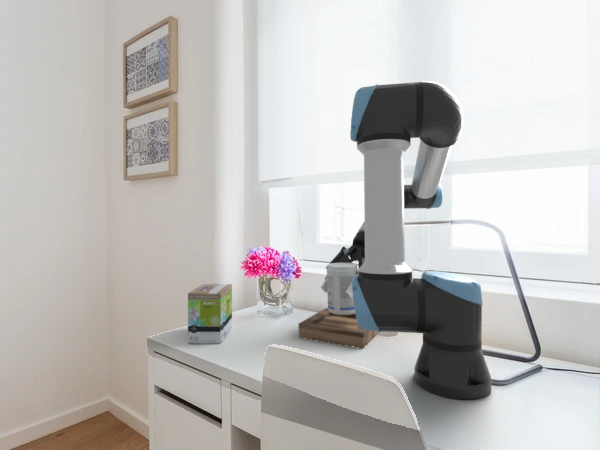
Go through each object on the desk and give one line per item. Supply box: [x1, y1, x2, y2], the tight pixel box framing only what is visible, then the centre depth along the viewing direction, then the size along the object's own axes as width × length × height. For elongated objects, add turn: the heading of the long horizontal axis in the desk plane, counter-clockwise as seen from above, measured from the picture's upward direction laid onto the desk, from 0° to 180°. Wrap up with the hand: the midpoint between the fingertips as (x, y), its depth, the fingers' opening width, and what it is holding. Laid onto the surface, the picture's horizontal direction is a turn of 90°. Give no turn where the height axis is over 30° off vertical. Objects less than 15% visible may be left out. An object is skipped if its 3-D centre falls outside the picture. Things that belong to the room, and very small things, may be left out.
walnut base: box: [298, 307, 380, 349], centre depth 110 cm, size 20×20×4 cm
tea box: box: [187, 283, 233, 345], centre depth 109 cm, size 15×10×15 cm, turn 179°
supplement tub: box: [326, 262, 358, 315], centre depth 110 cm, size 10×10×15 cm
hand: (335, 292), depth 108 cm, fingers closed on supplement tub, 9 cm apart
